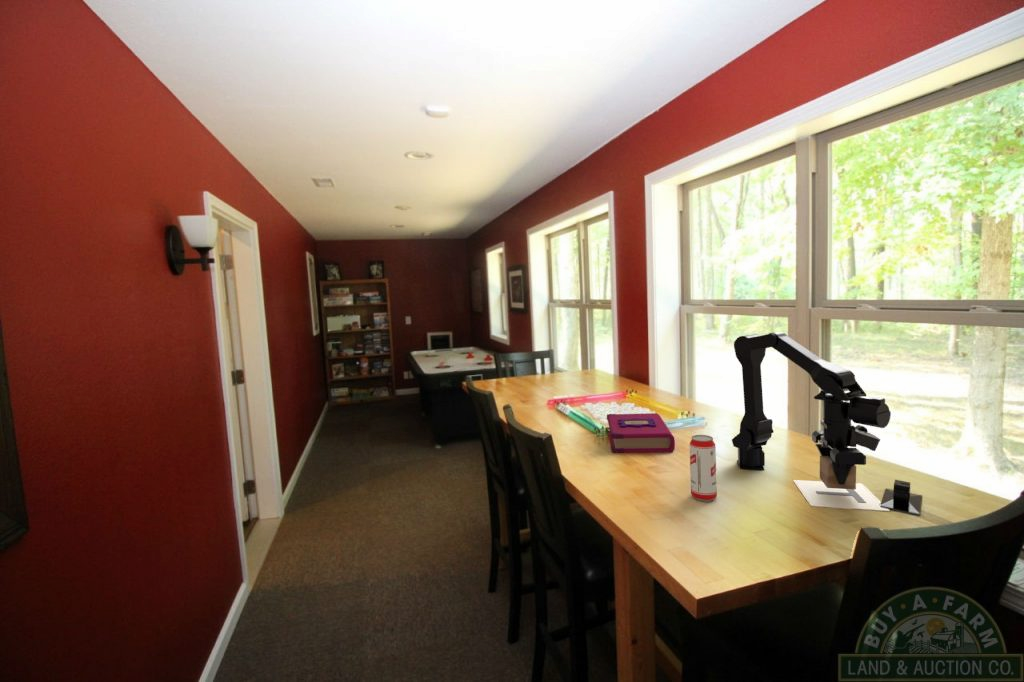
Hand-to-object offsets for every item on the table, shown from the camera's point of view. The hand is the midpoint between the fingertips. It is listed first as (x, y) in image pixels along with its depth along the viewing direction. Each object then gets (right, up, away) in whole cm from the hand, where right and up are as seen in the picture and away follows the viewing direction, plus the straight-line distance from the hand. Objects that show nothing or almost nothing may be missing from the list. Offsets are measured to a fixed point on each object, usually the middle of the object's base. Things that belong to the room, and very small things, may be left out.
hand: (836, 479), depth 117 cm
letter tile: (0, -4, 0) cm, 4 cm away
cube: (0, -1, 0) cm, 1 cm away
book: (-36, -2, +54) cm, 64 cm away
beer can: (-32, -6, +4) cm, 33 cm away
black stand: (+12, -4, -6) cm, 13 cm away
